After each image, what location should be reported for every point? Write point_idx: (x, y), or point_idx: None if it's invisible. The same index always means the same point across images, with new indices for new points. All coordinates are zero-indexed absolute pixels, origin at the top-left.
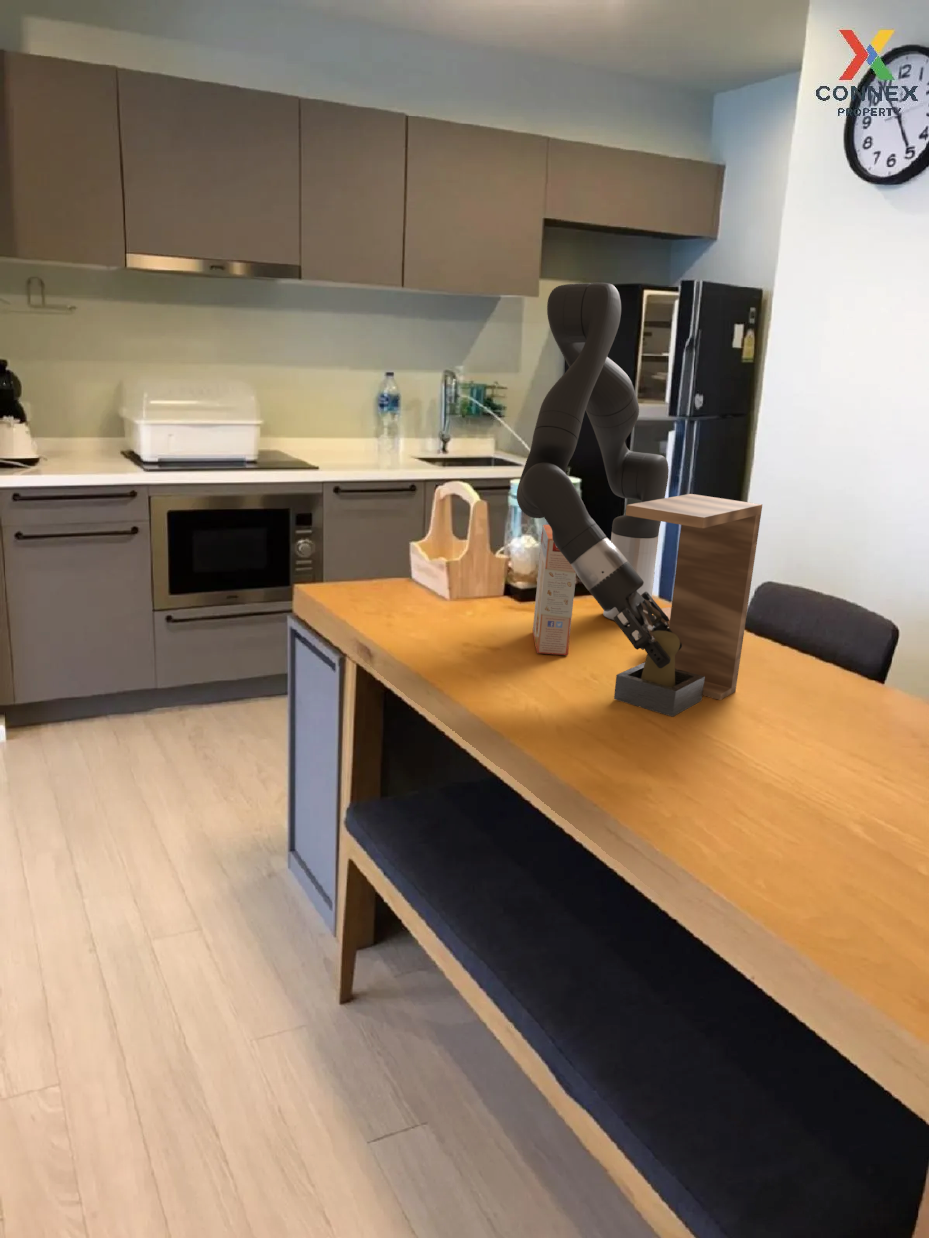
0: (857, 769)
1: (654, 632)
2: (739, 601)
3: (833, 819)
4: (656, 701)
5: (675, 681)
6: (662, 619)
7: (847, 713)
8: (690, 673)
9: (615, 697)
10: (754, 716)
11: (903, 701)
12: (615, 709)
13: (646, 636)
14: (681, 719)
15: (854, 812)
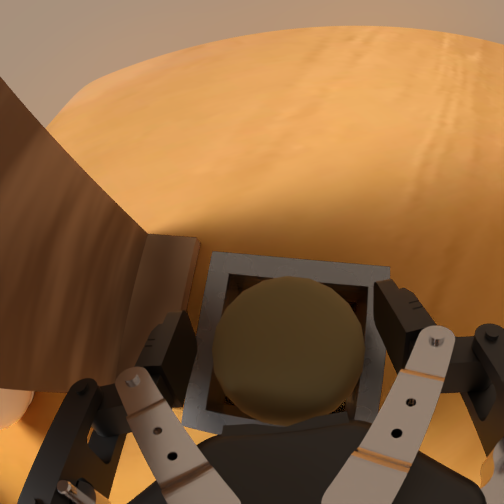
0: (351, 53)
1: (308, 389)
2: (14, 114)
3: (477, 68)
4: None
5: None
6: (136, 399)
7: (155, 98)
8: (211, 289)
9: None
10: (252, 168)
11: (89, 89)
12: None
13: (501, 337)
14: None
15: (450, 56)
